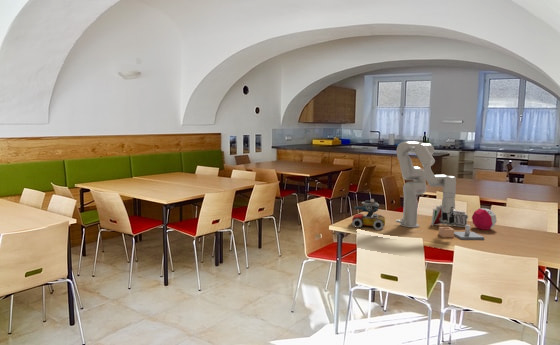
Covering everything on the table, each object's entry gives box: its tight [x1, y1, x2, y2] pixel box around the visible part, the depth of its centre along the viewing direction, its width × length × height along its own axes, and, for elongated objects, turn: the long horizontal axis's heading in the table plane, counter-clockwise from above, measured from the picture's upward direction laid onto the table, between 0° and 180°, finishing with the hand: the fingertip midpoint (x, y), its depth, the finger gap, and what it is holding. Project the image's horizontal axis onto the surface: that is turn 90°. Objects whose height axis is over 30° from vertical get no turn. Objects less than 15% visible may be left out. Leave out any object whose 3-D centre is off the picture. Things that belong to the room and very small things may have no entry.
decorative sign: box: [430, 204, 469, 228], centre depth 305 cm, size 24×3×15 cm, turn 84°
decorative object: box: [471, 208, 498, 231], centre depth 299 cm, size 15×15×15 cm
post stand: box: [454, 224, 485, 241], centre depth 276 cm, size 15×14×8 cm
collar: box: [438, 226, 455, 238], centre depth 277 cm, size 7×7×5 cm
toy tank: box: [351, 198, 386, 231], centre depth 299 cm, size 18×22×20 cm
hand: (448, 221), depth 276 cm, fingers open, 9 cm apart
